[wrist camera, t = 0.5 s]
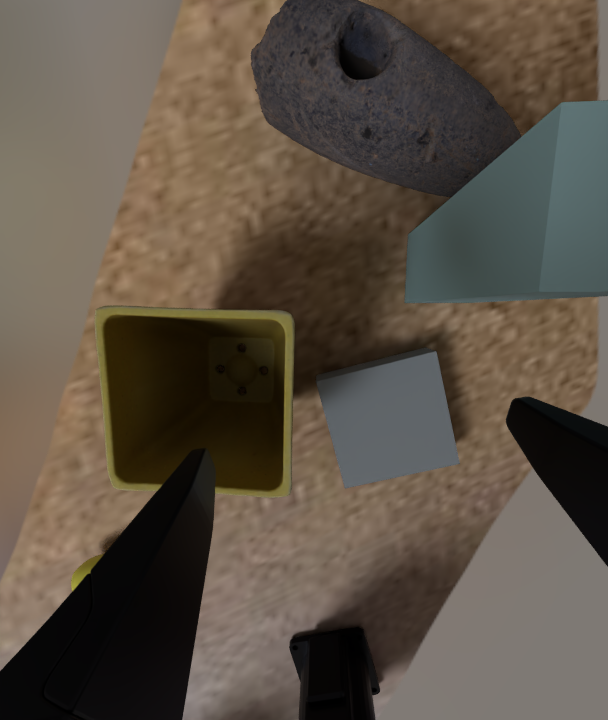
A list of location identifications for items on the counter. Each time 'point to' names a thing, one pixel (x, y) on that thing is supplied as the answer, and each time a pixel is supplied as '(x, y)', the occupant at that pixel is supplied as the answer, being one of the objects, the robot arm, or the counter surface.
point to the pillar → (523, 220)
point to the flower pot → (197, 395)
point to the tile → (388, 417)
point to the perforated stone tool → (376, 97)
